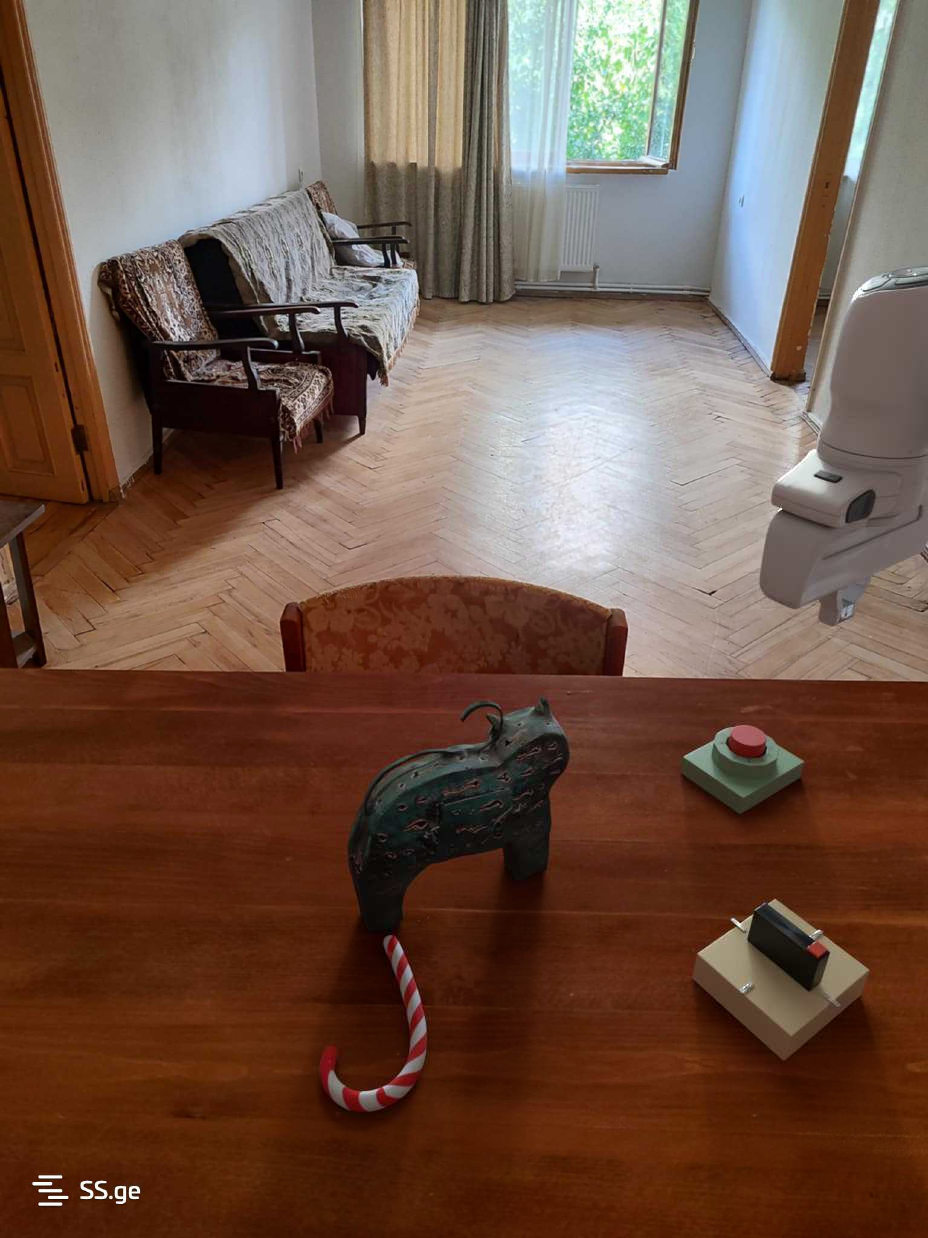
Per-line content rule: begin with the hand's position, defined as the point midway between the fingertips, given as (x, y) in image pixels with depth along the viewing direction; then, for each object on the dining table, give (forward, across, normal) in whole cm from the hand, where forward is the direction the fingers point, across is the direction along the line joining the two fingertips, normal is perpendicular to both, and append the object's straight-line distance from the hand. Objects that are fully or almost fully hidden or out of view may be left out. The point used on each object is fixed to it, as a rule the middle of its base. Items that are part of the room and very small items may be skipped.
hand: (835, 619), depth 80 cm
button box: (+22, +1, -6) cm, 22 cm away
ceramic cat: (+21, +35, -10) cm, 42 cm away
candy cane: (+21, +48, -3) cm, 53 cm away
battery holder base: (+22, +20, +13) cm, 32 cm away
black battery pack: (+19, +20, +13) cm, 30 cm away
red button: (+18, +1, -6) cm, 19 cm away
